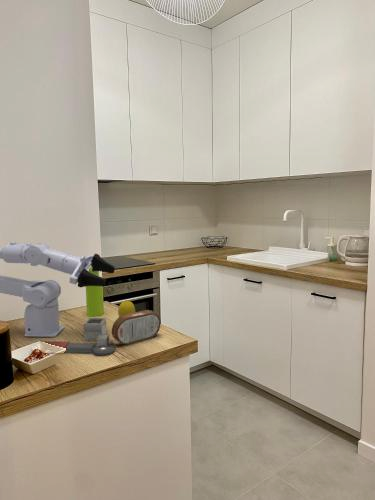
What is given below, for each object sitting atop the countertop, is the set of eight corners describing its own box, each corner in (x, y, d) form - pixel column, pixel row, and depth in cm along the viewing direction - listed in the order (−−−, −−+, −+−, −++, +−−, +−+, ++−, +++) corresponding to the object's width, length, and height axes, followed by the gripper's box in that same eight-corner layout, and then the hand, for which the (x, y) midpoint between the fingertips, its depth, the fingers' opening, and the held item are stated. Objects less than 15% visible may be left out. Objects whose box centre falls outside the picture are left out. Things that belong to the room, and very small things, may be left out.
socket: (84, 340, 107) (83, 323, 107) (89, 333, 113) (89, 317, 112) (102, 340, 107) (101, 324, 106) (106, 333, 112) (106, 318, 112)
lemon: (132, 326, 118) (131, 302, 117) (116, 325, 119) (115, 301, 118) (137, 321, 124) (137, 298, 122) (122, 320, 125) (121, 297, 123)
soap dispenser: (93, 318, 126) (91, 261, 123) (83, 313, 131) (81, 258, 128) (108, 314, 130) (106, 259, 127) (98, 310, 135) (96, 256, 132)
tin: (156, 333, 113) (156, 306, 112) (162, 336, 111) (162, 309, 109) (111, 345, 104) (110, 316, 103) (116, 348, 102) (115, 319, 100)
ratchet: (33, 355, 98) (32, 340, 97) (43, 346, 103) (42, 331, 103) (111, 356, 97) (111, 341, 96) (116, 347, 103) (116, 332, 102)
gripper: (55, 263, 101) (102, 277, 101) (78, 241, 114) (119, 254, 114) (54, 284, 105) (99, 298, 104) (76, 260, 117) (116, 272, 117)
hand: (109, 276), depth 109 cm, fingers open, 7 cm apart
